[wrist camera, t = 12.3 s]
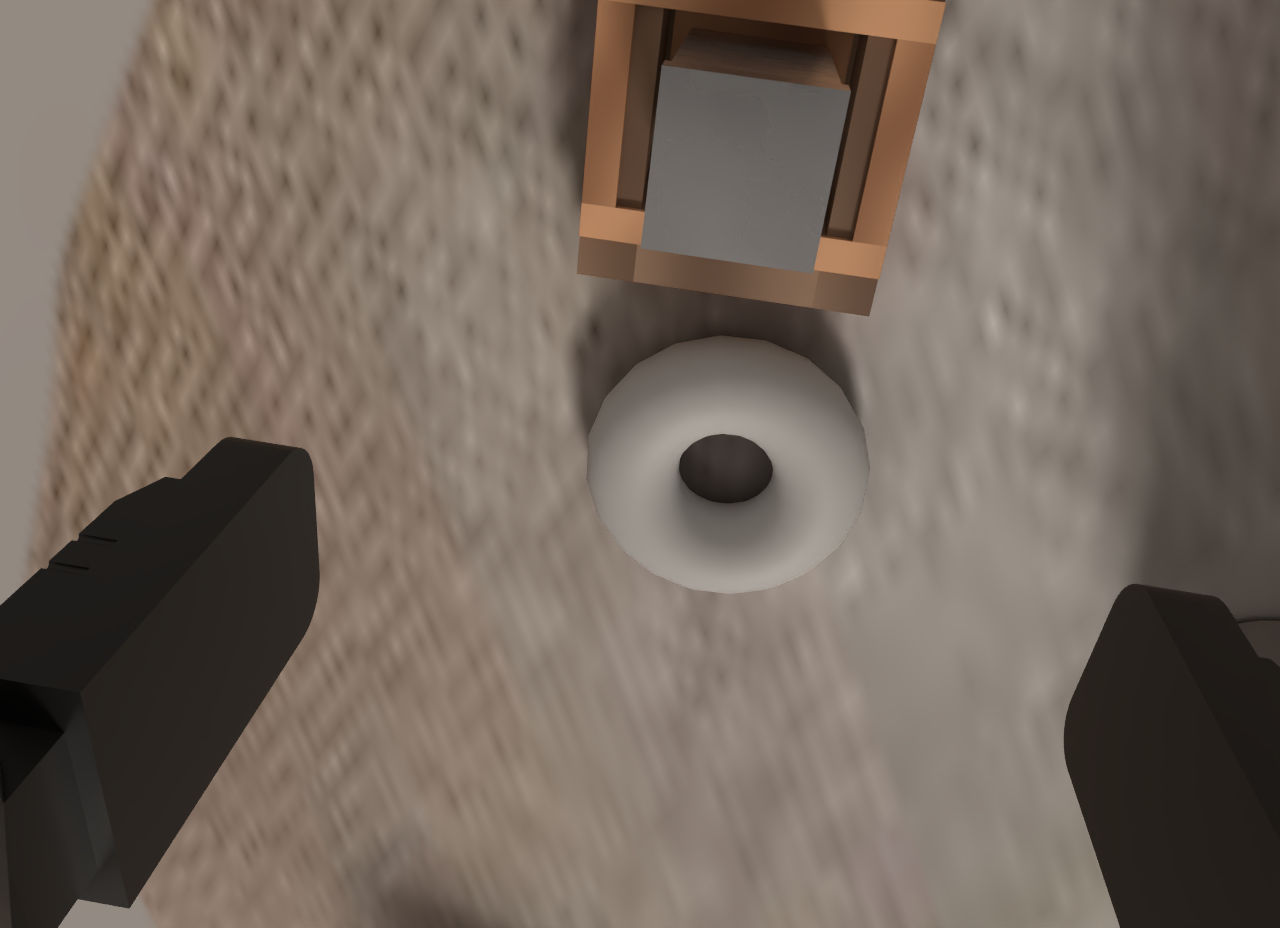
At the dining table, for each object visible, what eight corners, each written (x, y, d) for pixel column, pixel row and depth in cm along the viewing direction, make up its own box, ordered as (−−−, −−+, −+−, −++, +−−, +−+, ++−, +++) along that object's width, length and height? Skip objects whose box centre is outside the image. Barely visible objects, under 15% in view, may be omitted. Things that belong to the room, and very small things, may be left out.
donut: (905, 359, 35) (624, 288, 34) (920, 404, 32) (612, 326, 31) (814, 584, 40) (569, 523, 39) (820, 640, 37) (554, 575, 36)
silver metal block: (832, 43, 29) (851, 91, 22) (804, 187, 31) (813, 273, 24) (688, 23, 29) (661, 65, 22) (670, 169, 31) (640, 248, 24)
